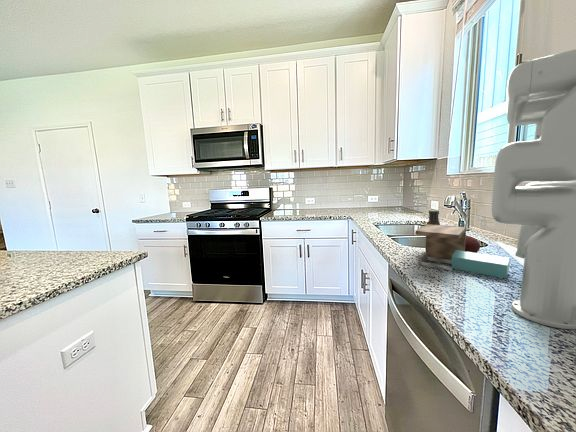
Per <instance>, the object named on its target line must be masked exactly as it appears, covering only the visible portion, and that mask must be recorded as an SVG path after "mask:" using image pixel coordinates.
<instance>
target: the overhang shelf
mask: <svg viewBox="0 0 576 432" xmlns="http://www.w3.org/2000/svg"><path fill="white" fill-rule="evenodd" d="M426 224H427V223H426ZM426 224H425V225H424V226H421V227H420V228H417V229H416V230H415V233H414V234H415V236H416V235H417V236H424V237H425V241H426V249H425V251H424V252H423V253H422V254H421V255H420V256H418V265H419V266H423V267H424V266H426V267H429V268H436V269H441V270H447V271H453V267H452V266H450V264H451V265H452V255H453V254H454V252H455V251H456V250H459V251H465V240H466V236H467V226H458V225H457V226H456V225H447V224H445V225H444V224H440V225H433V224H427V225H426ZM426 261H431V262H426ZM433 262H439V263H445V264H449V265H443V264H439V263H433Z"/></svg>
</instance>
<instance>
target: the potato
mask: <svg viewBox="0 0 576 432" xmlns="http://www.w3.org/2000/svg"><path fill="white" fill-rule="evenodd" d="M480 249H481V245H480V242H479V241H478V240H477V239H476V238H474V237H472V236H470V235H466V240H465V251H466V252H473V253H479V251H480Z"/></svg>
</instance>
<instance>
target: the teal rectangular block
mask: <svg viewBox="0 0 576 432" xmlns="http://www.w3.org/2000/svg"><path fill="white" fill-rule="evenodd" d="M510 258H511V257H505V256H499V255H493V254H485V253H480V252H477V253H473V252H466V251H459V250H456V251H455V252H454V254H453V255H452V264H451V267H453V268H452V270H459V271H464V272H470V273H476V274H480V275H485V276H486V275H487V276H491V277H497V278H502V279H507V278H508V274H509V270H510Z"/></svg>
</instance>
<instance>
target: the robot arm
mask: <svg viewBox="0 0 576 432" xmlns="http://www.w3.org/2000/svg"><path fill="white" fill-rule="evenodd" d="M506 86H507V87H506V105H505V106H506V109H505V110H506V120H507V123H508V124H509V126H512V127H519V126H528V125H535V132H534V133H535V134H534V140H523V141H515V142H510V143H508V144H505V145H504V146H502V147H501V148H500V149H499V151H498V153H497V156H496V159H495V165H494V173H493V185H492V198H491V200H492V201H491V215H492V216H491V217H492V218H493V220H494V221H496V222H497V223H498V224H500V223H501V224H507V225H516V226H520V228H519V232H518V237H517V243H516V251H515V257H517V258H520V259H523V269H522V270H523V271H522V277H521V290H520V299H515V300H514V301H512V302H511V309H512V311H513V312H514V313H515V314H517V315H518V316H521V317H522V318H525V319H526V320H529V321H531V322H534V323H537V324H540V325H543V326H547V327H552V328H556V329H557V328H558V329H563V330H576V48H575V49H571V50H567V51H563V52H560V53H556V54H555V53H554V54H551V55H547V56H544V57H543V56H542V57H539V58H534V59H532V60H527V61H524V62H522V63H521V62H520V64H517V65H516V66H515V67H514V68H513V69H512V70H511V71H510V73H509V76H508V79H507V84H506ZM522 183H527V184H525V186H524V185H523V186H520V184H522Z"/></svg>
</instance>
